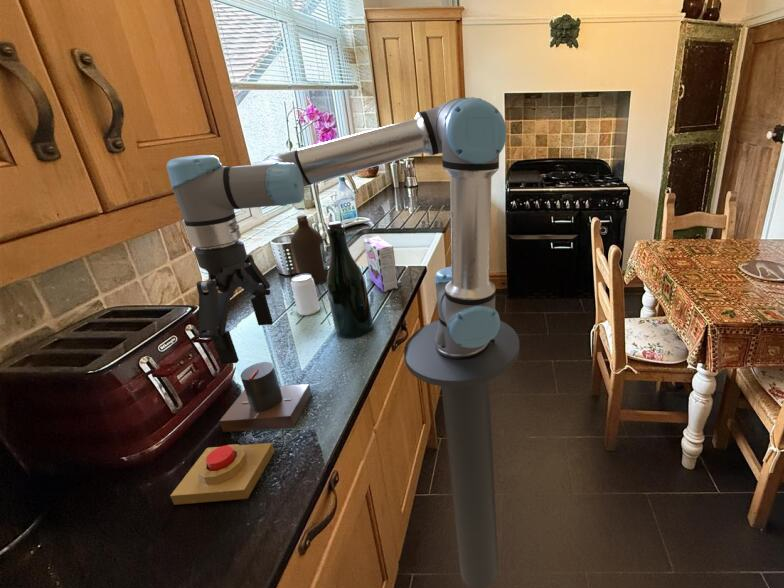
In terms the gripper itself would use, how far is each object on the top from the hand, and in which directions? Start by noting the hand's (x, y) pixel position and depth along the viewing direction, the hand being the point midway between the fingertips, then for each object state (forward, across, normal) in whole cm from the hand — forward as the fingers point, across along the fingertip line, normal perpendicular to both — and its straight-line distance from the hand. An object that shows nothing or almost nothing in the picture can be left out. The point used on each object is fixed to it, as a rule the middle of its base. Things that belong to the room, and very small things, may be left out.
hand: (249, 341), depth 81 cm
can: (+18, +46, +9) cm, 50 cm away
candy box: (+18, +64, -11) cm, 67 cm away
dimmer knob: (+15, 0, 0) cm, 15 cm away
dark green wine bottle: (+18, +33, -9) cm, 39 cm away
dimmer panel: (+18, 0, 0) cm, 18 cm away
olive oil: (+18, +71, +16) cm, 75 cm away
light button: (+15, -16, 0) cm, 22 cm away
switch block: (+18, -16, 0) cm, 24 cm away
